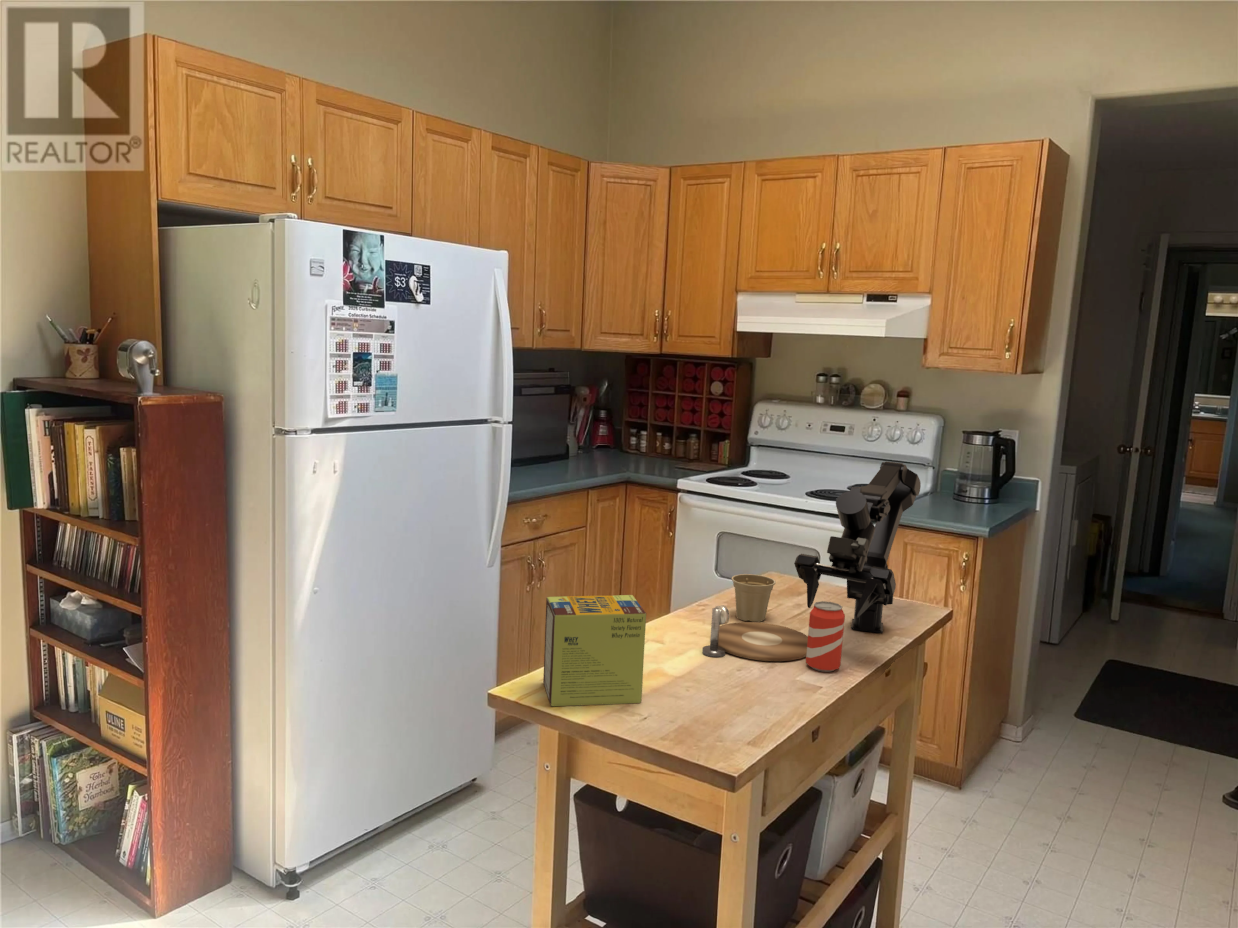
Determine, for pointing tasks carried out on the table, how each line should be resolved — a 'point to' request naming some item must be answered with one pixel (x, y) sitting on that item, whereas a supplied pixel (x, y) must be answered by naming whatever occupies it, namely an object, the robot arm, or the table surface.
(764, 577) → the flower pot
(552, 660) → the protein box
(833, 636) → the beverage can
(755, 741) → the table surface
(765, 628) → the lazy susan
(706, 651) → the metal door stop
